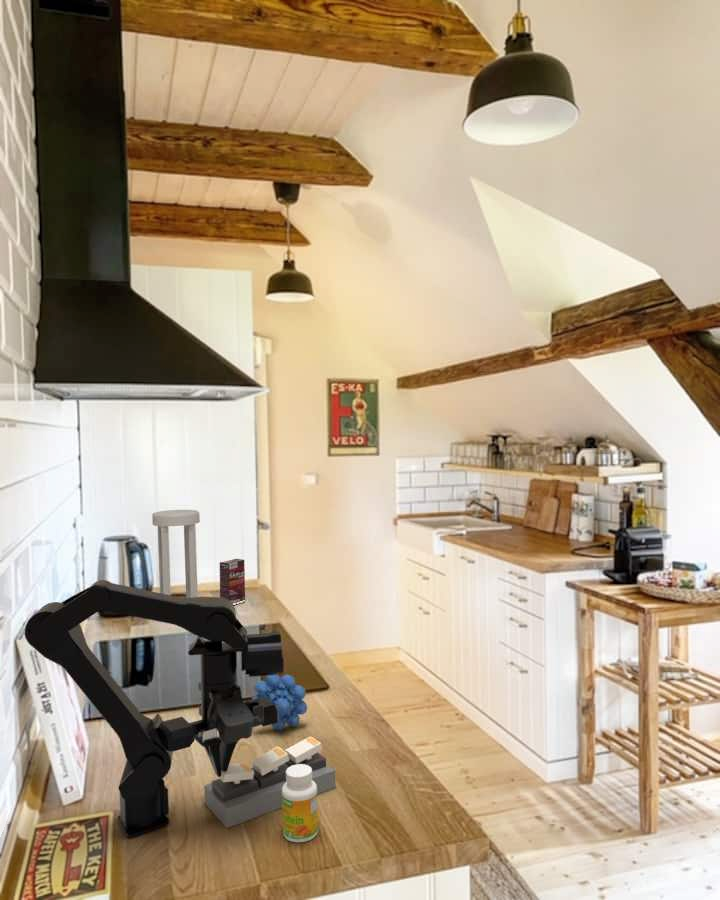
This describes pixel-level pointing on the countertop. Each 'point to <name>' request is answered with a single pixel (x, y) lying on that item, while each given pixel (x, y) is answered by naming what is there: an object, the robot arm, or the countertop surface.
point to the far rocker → (304, 750)
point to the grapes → (283, 698)
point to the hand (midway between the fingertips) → (220, 775)
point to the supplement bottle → (299, 804)
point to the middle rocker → (270, 761)
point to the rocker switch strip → (260, 791)
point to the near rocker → (237, 773)
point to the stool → (188, 521)
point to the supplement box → (232, 580)
